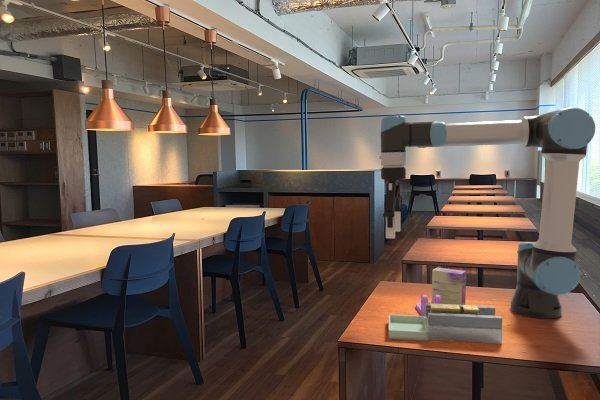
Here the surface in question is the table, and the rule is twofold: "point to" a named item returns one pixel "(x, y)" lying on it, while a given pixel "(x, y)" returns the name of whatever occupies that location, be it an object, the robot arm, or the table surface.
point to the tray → (408, 327)
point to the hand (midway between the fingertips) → (393, 234)
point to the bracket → (422, 305)
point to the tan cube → (452, 309)
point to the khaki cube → (437, 308)
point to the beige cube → (470, 310)
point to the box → (449, 285)
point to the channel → (465, 326)
